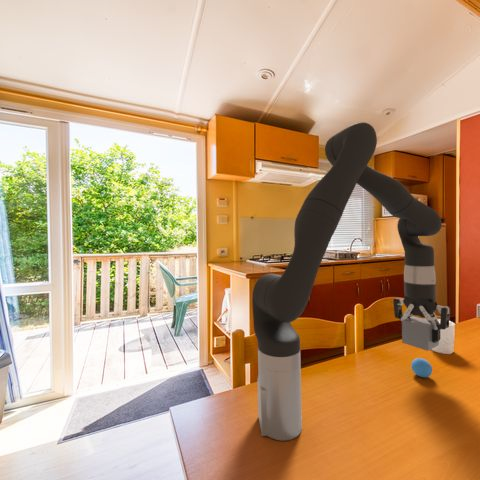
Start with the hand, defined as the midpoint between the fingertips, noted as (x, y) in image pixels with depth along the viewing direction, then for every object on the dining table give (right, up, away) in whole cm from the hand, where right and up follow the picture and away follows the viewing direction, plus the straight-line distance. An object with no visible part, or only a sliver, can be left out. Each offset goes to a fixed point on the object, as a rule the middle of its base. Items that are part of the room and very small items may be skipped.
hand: (420, 337), depth 75 cm
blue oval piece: (+1, -9, 0) cm, 9 cm away
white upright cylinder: (+19, -11, +17) cm, 28 cm away
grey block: (0, -2, 0) cm, 2 cm away
